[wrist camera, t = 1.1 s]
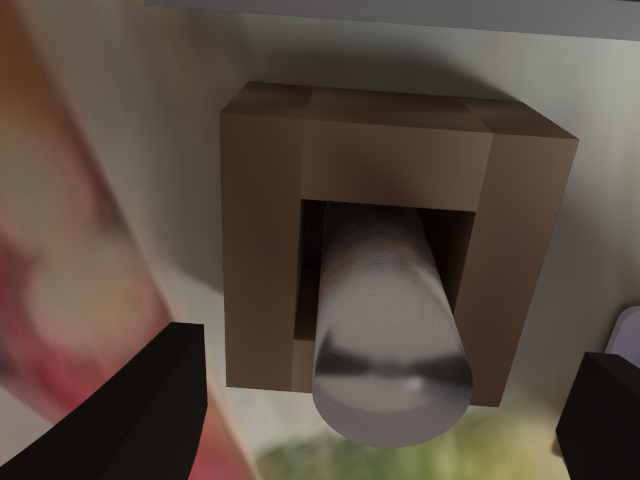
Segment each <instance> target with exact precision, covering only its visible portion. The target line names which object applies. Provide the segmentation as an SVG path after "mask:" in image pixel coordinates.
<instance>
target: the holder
mask: <svg viewBox="0 0 640 480" xmlns="http://www.w3.org/2000/svg"><path fill="white" fill-rule="evenodd" d="M578 143H579V139H578V138H576V137H575V136H573V135H572V134H570V133H569V132H567V131H565V130H564V129H562V128H561V127H559V126H558V125H556V124H555V123H553V122H552V121H550V120H549V119H547V118H546V117H544V116H543V115H541V114H540V113H538V112H537V111H535V110H534V109H532V108H531V107H529V106H528V105H526V104H525V103H523V102H516V101H502V100H489V99H475V98H461V97H448V96H434V95H420V94H407V93H393V92H379V91H365V90H352V89H338V88H324V87H311V86H297V85H283V84H270V83H256V82H248V83H247V84H246V85H245V86H244V88H243V89H242V90H241V91H240V92H239V93H238V94H237V95H236V96H235V97H234V98H233V99H232V100H231V102H230V103H229V104H228V105H227V106H226V107H225V108H224V109H223V110H222V111H221V112H220V150H221V191H222V231H223V272H224V312H225V352H226V387H236V388H249V389H263V390H276V391H289V392H303V393H312V383H313V369H314V355H315V341H316V327H317V313H318V299H319V285H320V271H321V269H317V268H304V267H303V263H304V245H305V228H306V210H307V199H311V200H324V201H338V202H351V203H365V204H378V205H392V206H405V207H419V208H432V209H437V210H436V215H435V221H434V226H433V232H432V237H431V243H430V249H431V252H432V255H433V258H434V261H435V264H436V267H437V270H438V273H439V276H440V279H441V282H442V285H443V288H444V291H445V294H446V297H447V300H448V303H449V306H450V309H451V312H452V315H453V318H454V321H455V324H456V327H457V330H458V333H459V336H460V339H461V342H462V345H463V348H464V351H465V354H466V357H467V360H468V363H469V366H470V369H471V372H472V377H473V393H472V398H471V401H470V403H469V405H475V406H488V407H499V405H500V402H501V399H502V395H503V392H504V389H505V385H506V382H507V379H508V375H509V372H510V369H511V365H512V362H513V359H514V355H515V352H516V349H517V345H518V342H519V339H520V335H521V332H522V329H523V325H524V322H525V319H526V315H527V312H528V309H529V305H530V302H531V299H532V296H533V292H534V289H535V286H536V282H537V279H538V276H539V272H540V269H541V266H542V262H543V259H544V256H545V252H546V249H547V246H548V242H549V239H550V236H551V232H552V229H553V226H554V222H555V219H556V216H557V212H558V209H559V206H560V202H561V199H562V196H563V192H564V189H565V186H566V182H567V179H568V176H569V172H570V169H571V166H572V162H573V159H574V156H575V153H576V149H577V146H578Z"/></svg>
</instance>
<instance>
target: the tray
mask: <svg viewBox="0 0 640 480" xmlns="http://www.w3.org/2000/svg"><path fill="white" fill-rule="evenodd" d="M145 5H148V6H162V7H176V8H189V9H203V10H217V11H231V12H245V13H258V14H272V15H286V16H300V17H314V18H327V19H341V20H355V21H369V22H383V23H396V24H410V25H424V26H438V27H452V28H465V29H479V30H493V31H507V32H520V33H534V34H548V35H562V36H576V37H589V38H603V39H617V40H631V41H640V0H145Z"/></svg>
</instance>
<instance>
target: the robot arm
mask: <svg viewBox="0 0 640 480" xmlns="http://www.w3.org/2000/svg"><path fill="white" fill-rule="evenodd" d="M207 406H208V402H207V381H206V360H205V340H204V324H192V323H179V322H171V323H170V324H169V325H167V326H166V327H165V328H164V329H163V330H162V331H161V332H160V333H159V334H157V335H156V336H155V337H154V338H153V339H152V340H151V341H150V342H149V343H148V344H147V345H146V346H145V347H144V348H143V349H142V350H141V351H140V352H139V353H137V354H136V355H135V356H134V357H133V358H132V359H131V360H130V361H129V362H128V363H127V364H126V365H125V366H124V367H122V368H121V369H120V370H119V371H118V372H117V373H116V374H115V375H114V376H112V377H111V378H110V379H109V380H108V381H107V382H106V383H105V384H103V385H102V386H101V387H100V388H99V389H98V390H97V391H96V392H94V393H93V394H92V395H91V396H90V397H89V398H88V399H86V400H85V401H84V402H83V403H82V404H81V405H79V406H78V407H77V408H76V409H74V410H73V411H72V412H71V413H69V414H68V415H67V416H66V417H65V418H63V419H62V420H61V421H60V422H58V423H57V424H56V425H55V426H53V427H52V428H51V429H50V430H49V431H47V432H46V433H45V434H44V435H42V436H41V437H40V438H39V439H37V440H36V441H35V442H33V443H32V444H31V445H29V446H28V447H27V448H25V449H24V450H23V451H21V452H20V453H19V454H18V455H16V456H15V457H13V458H12V459H11V460H9V461H8V462H6V463H5V464H4V465H2V466H1V467H0V480H188V477H189V475H190V472H191V469H192V466H193V463H194V460H195V457H196V454H197V449H198V445H199V441H200V437H201V433H202V428H203V424H204V419H205V415H206V411H207ZM555 431H556V434H557V438H558V441H559V444H560V448H561V451H562V455H563V458H562V461H563V463H564V465H565V467H566V469H567V470H568V473H569V476H570V479H571V480H640V306H633V307H630V308H627V309H625V310H624V311H623V312H622V313H621V314H620V316H619V317H618V320H617V322H616V325H615V327H614V330H613V332H612V335H611V337H610V340H609V342H608V345H607V347H606V350H605V352H604V353H594V352H585V354H584V357H583V359H582V362H581V365H580V367H579V370H578V373H577V375H576V378H575V380H574V383H573V386H572V388H571V391H570V394H569V396H568V399H567V401H566V404H565V407H564V409H563V412H562V415H561V417H560V420H559V422H558V425H557V428H556V430H555Z"/></svg>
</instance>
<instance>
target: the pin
mask: <svg viewBox="0 0 640 480" xmlns="http://www.w3.org/2000/svg"><path fill="white" fill-rule="evenodd" d="M312 393H313V399H314V402H315V405H316V408H317V410H318V412H319V413H320V415H321V416H322V418H323V419H324V420H325V422H326V423H327V424H328V425H329V426H330V427H331V428H333V429H334V430H335V431H337V432H338V433H340V434H341V435H343V436H345V437H346V438H349V439H351V440H353V441H356V442H359V443H362V444H365V445H370V446H376V447H388V448H394V447H405V446H412V445H416V444H420V443H423V442H426V441H428V440H431V439H433V438H435V437H437V436H439V435H441V434H442V433H444V432H446V431H447V430H448V429H450V428H451V427H452V426H453V425H454V424H455V423H456V422H457V421H458V420H459V419H460V418H461V417H462V415H463V414H464V413H465V411H466V409H467V408H468V406H469V403H470V401H471V398H472V393H473V377H472V372H471V369H470V366H469V363H468V360H467V357H466V354H465V351H464V348H463V345H462V342H461V339H460V336H459V333H458V330H457V327H456V324H455V321H454V318H453V315H452V312H451V309H450V306H449V303H448V300H447V297H446V294H445V291H444V288H443V285H442V282H441V279H440V276H439V273H438V270H437V267H436V264H435V261H434V258H433V255H432V252H431V249H430V246H429V243H428V240H427V237H426V234H425V231H424V228H423V225H422V222H421V219H420V216H419V213H418V210H417V208H416V207H405V206H392V205H378V204H365V203H351V202H338V201H327V204H326V208H325V216H324V230H323V243H322V257H321V271H320V285H319V299H318V313H317V327H316V341H315V355H314V369H313V383H312Z"/></svg>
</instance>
